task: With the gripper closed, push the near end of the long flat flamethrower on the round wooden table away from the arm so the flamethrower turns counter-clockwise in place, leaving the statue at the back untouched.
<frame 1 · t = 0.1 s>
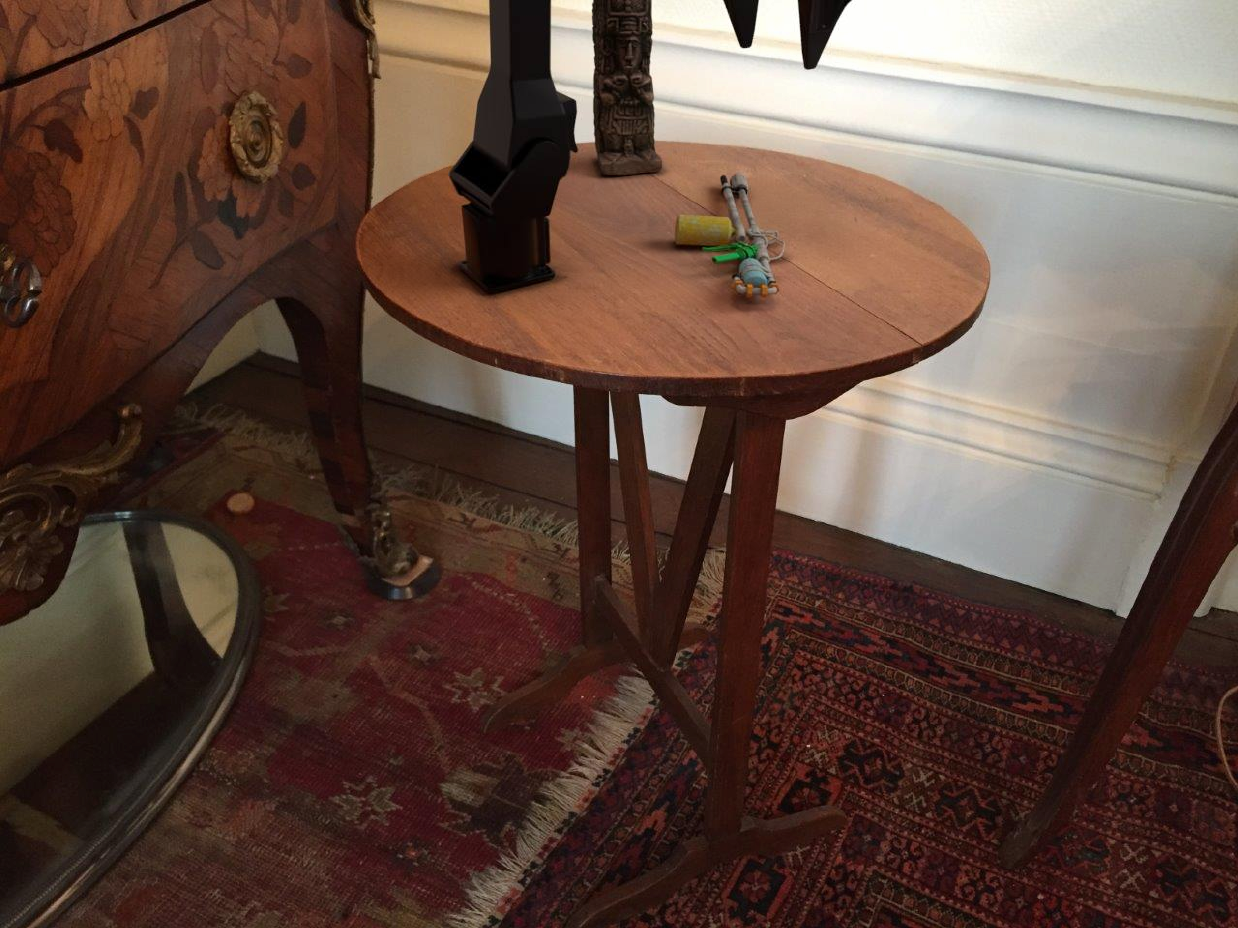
hand: (776, 58, 88), 15 cm above the table, tool pointing down, fingers open, 9 cm apart
statue: (625, 167, 108), on the table
flamethrower: (726, 242, 91), on the table
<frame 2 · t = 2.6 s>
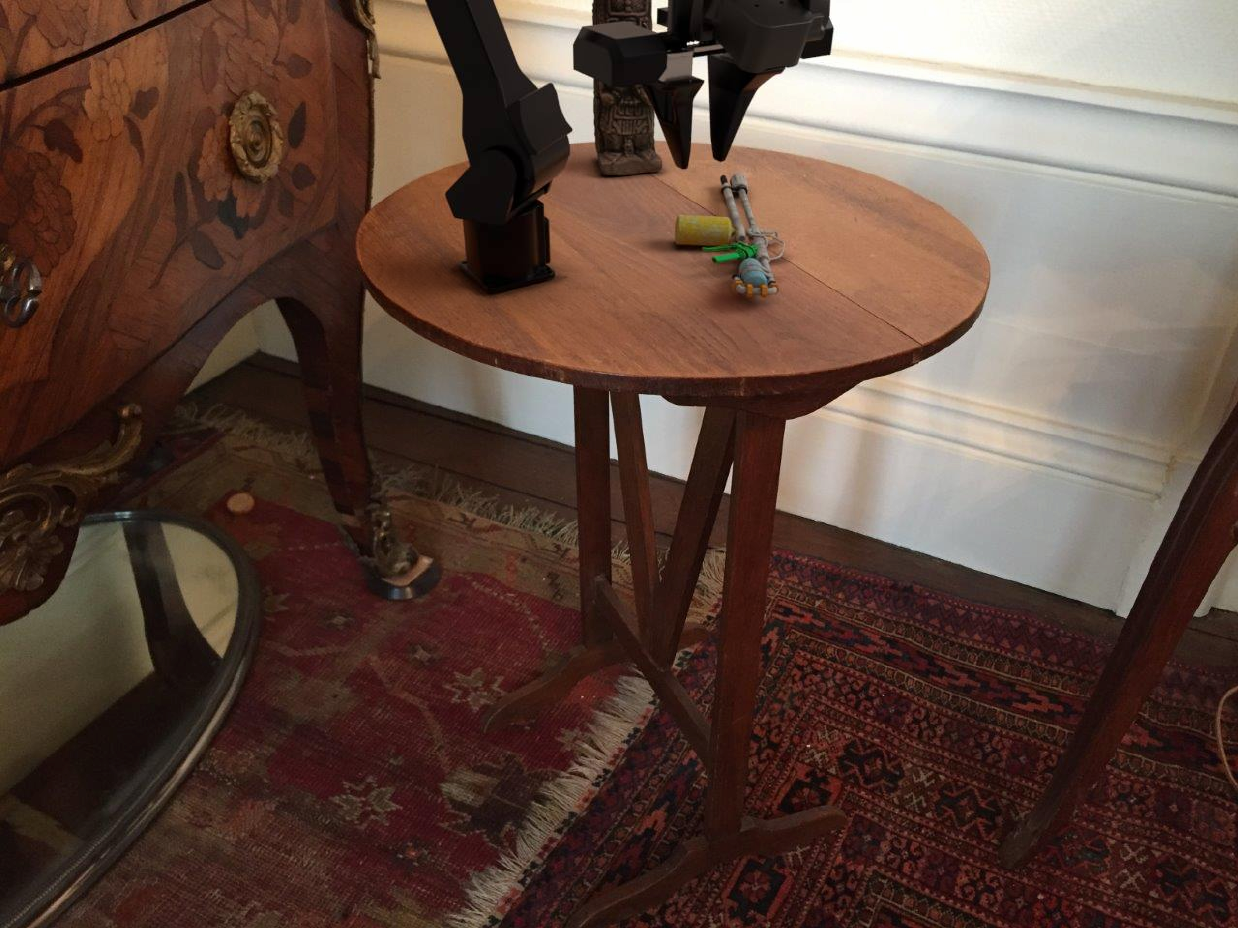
hand: (700, 164, 72), 12 cm above the table, tool pointing down, fingers open, 3 cm apart
nothing on the table moved.
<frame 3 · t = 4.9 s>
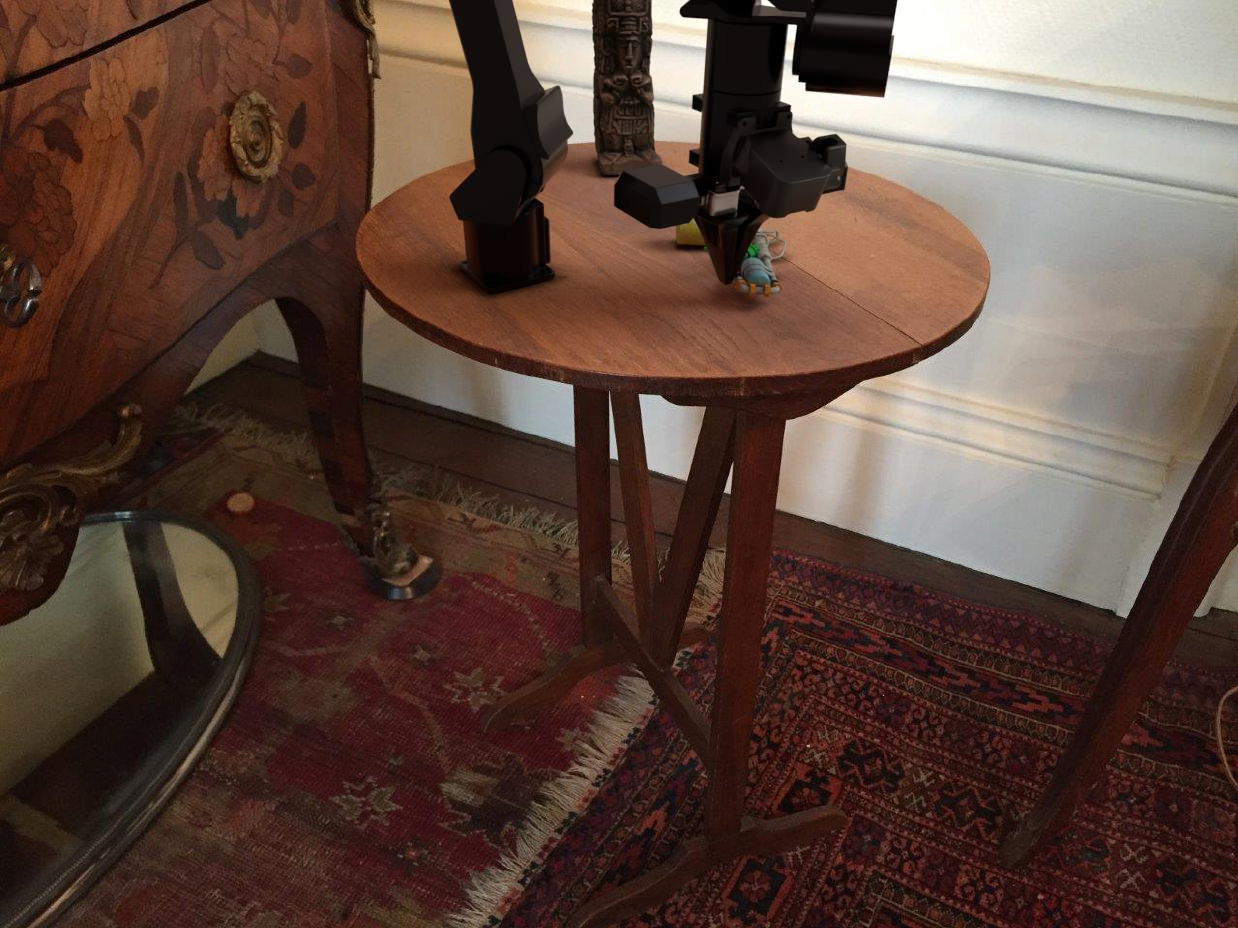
hand: (725, 283, 79), 2 cm above the table, tool pointing down, fingers closed
flamethrower: (727, 242, 91), on the table, touching gripper
everything else where it was.
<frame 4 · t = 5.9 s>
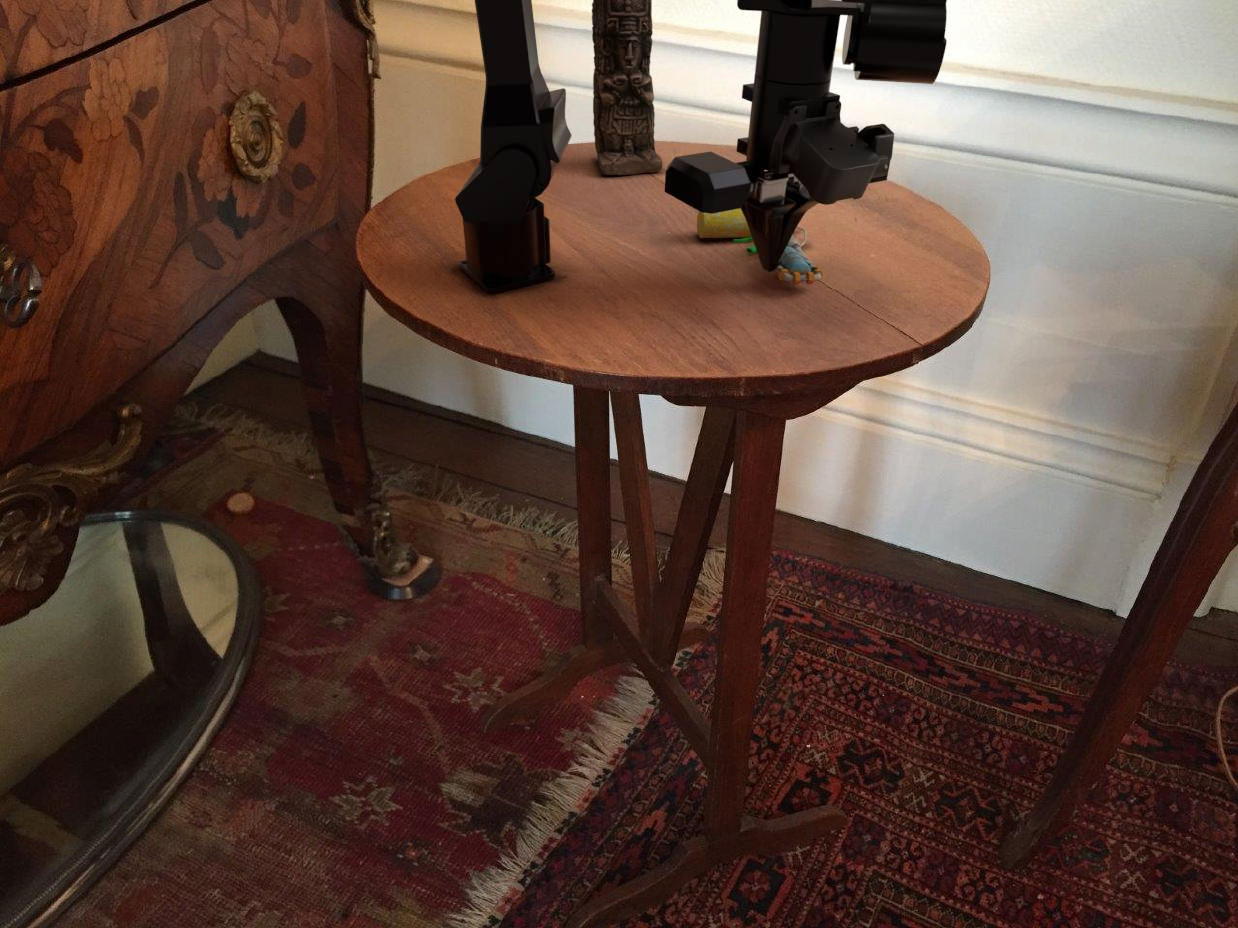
hand: (768, 270, 81), 2 cm above the table, tool pointing down, fingers closed
flamethrower: (745, 233, 92), on the table, touching gripper
everything else where it was.
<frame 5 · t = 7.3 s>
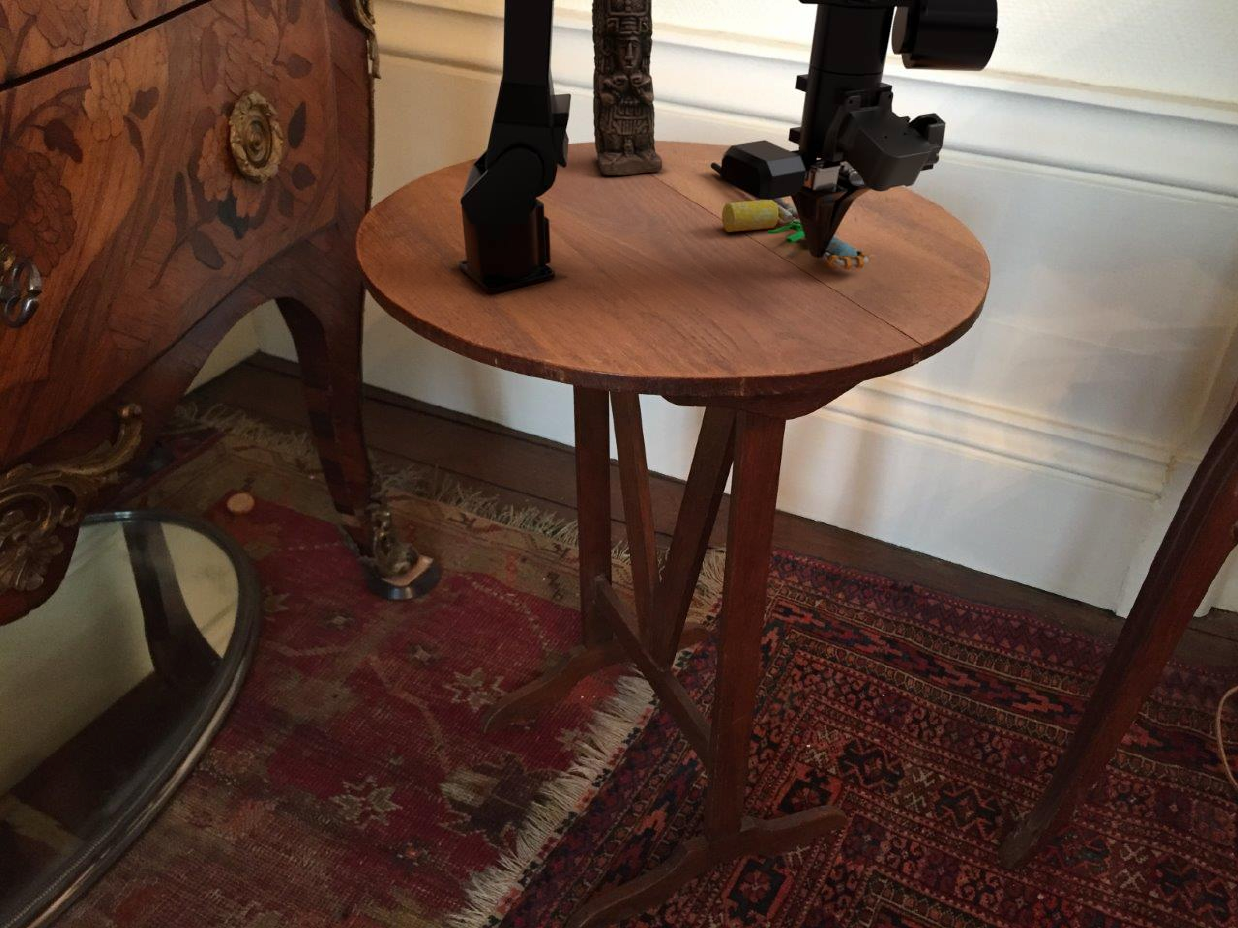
hand: (816, 256, 83), 2 cm above the table, tool pointing down, fingers closed
flamethrower: (765, 224, 94), on the table, touching gripper
everything else where it was.
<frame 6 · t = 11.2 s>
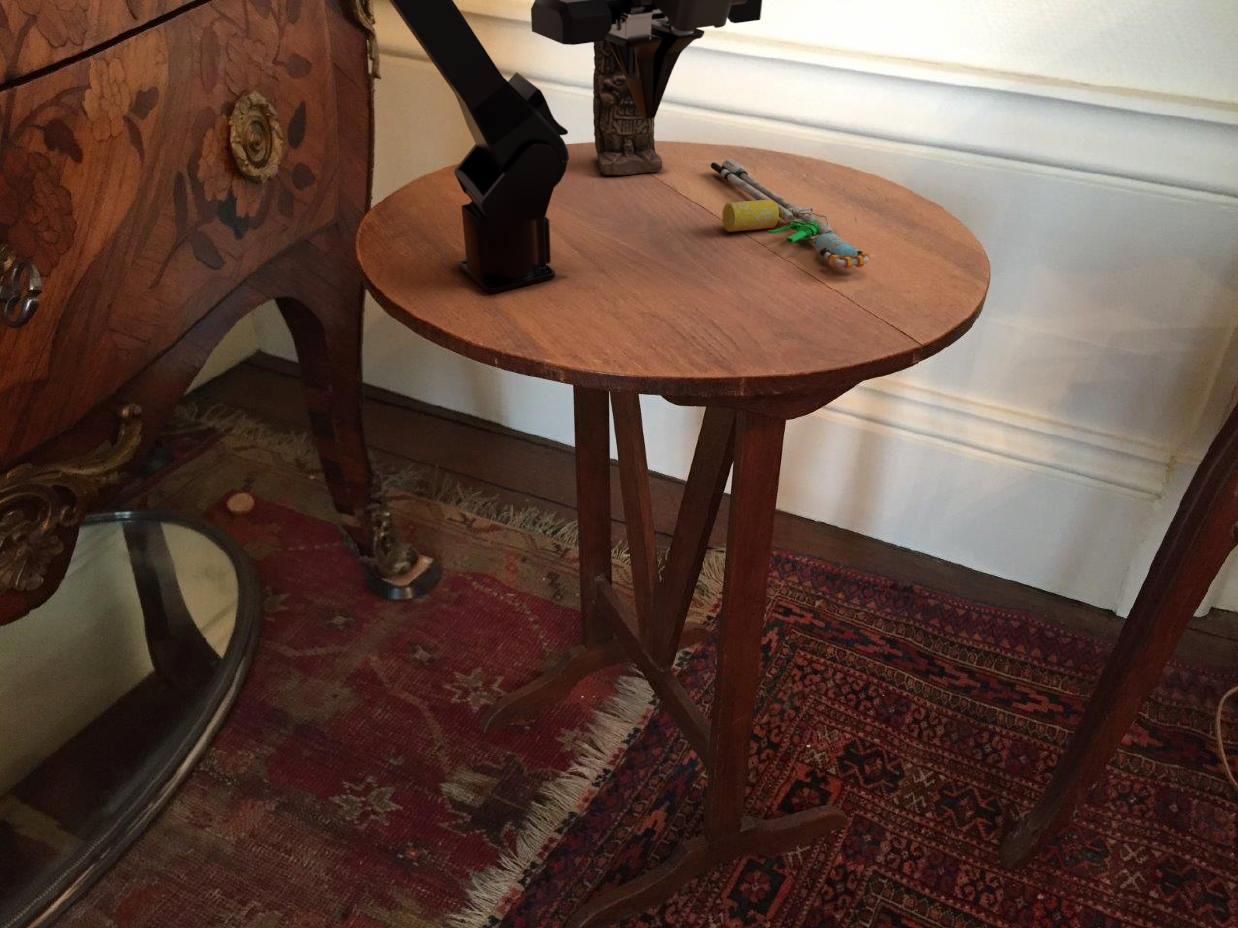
hand: (647, 118, 81), 12 cm above the table, tool pointing down, fingers closed
flamethrower: (766, 224, 94), on the table
everything else where it was.
at the end: flamethrower moved 6.3 cm from its start; flamethrower inside the target area (5.7 cm from its centre), on the table; statue moved 0.2 cm from its start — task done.
